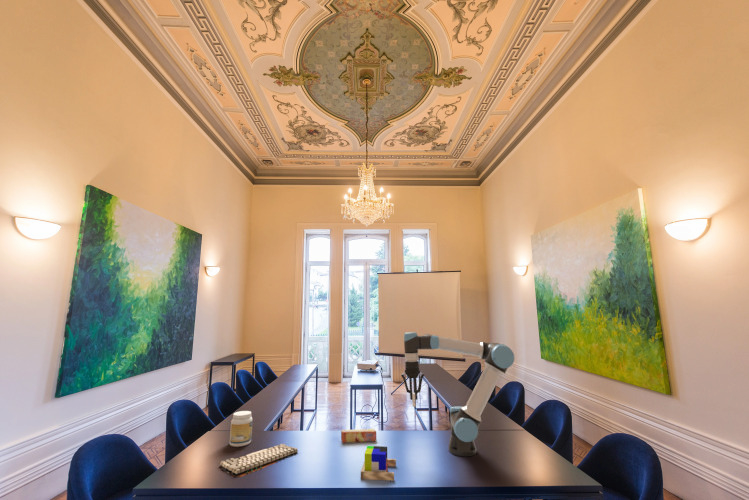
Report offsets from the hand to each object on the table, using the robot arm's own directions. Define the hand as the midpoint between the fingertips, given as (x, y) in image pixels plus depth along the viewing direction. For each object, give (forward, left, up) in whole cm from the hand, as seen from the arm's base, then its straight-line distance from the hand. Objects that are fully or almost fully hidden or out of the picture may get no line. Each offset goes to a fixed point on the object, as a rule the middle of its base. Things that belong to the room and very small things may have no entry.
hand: (414, 405), depth 182 cm
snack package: (+34, -23, -27) cm, 49 cm away
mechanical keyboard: (+81, +10, -27) cm, 86 cm away
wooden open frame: (+17, +17, -26) cm, 36 cm away
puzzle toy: (+19, +18, -27) cm, 37 cm away
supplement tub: (+104, -11, -26) cm, 108 cm away
